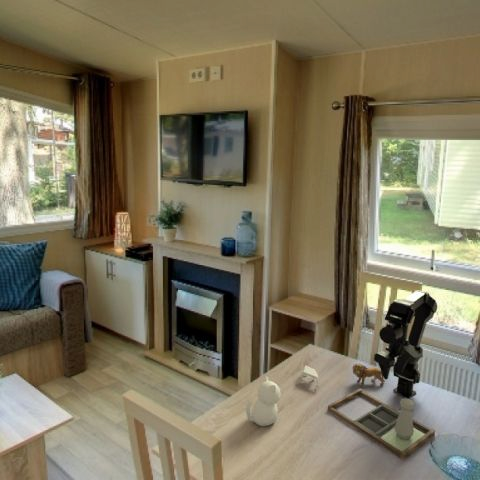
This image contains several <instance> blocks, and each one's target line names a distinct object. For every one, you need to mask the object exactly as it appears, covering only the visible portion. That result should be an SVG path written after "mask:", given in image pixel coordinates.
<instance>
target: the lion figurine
mask: <svg viewBox="0 0 480 480" xmlns="http://www.w3.org/2000/svg"><path fill="white" fill-rule="evenodd" d="M352 374H354V375H355V376H356V377H357V378H358V379H357V380H356V381H357V382H358V383H359V382H361V383H360V386H364V384H365V381H366V378H371V377H374V378H372V379H371V382H375V381H377V380H378V381H380V383H379V384H380V386H384V385H385V382H386V379H384V377H383V374H382V371H381V369H380V368H377V367H370V368H368V367H366V366H365V365H364V364H361V363H360V362H359V363H354V364H353V365H352Z"/></svg>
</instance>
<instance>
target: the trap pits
mask: <svg viewBox="0 0 480 480" xmlns="http://www.w3.org/2000/svg"><path fill="white" fill-rule="evenodd" d="M398 416H399V413H397V412H395V411H393V410H392V409H390V408H388V407H386V406H385V405H383V404H381V405H380V406H378V405H377V406H376V407H375V408H372V409H371V410H370V411H367V412H366V413H365V414H363V415H361V416H360V417H358V418H356V419H355V420H353V421H354V422H356V423H358V424H359V425H361V426H362V427H364V428H365V429H367V430H368V431H370V432H372V433H373V434H375V435H376V436H378V437H379V438H380V437H381V436H382V435H384V434H385V433H387V432H388V431H390V430H391V429H393V428H394V427H395V425H396V422H397V419H398Z"/></svg>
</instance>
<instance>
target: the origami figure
mask: <svg viewBox="0 0 480 480" xmlns="http://www.w3.org/2000/svg"><path fill="white" fill-rule="evenodd" d="M304 376H305V377H307V376H309V377H312V380H313V381H314V380H315V379H317V381H316V382H317V385H315V387H314V390H317V388H318V387H320V380H319V375H318V372H317V371H316V370H315V368H312V367H310V366H307V365H304V369H303V371H302V374H300V375H298V377H297V378H298V380H300V381H301V382H300V384H304V383H305V382H306V381H305V380H304V379H303V377H304Z"/></svg>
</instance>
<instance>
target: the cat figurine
mask: <svg viewBox="0 0 480 480" xmlns="http://www.w3.org/2000/svg"><path fill="white" fill-rule="evenodd" d="M281 395H282V392H281V389H280V387H279V385H278V384H277V383H276V382H274V381H271V380H269V378H268V376H266V375H265V376H264V379H263V381H262V382H261V383H260V384H259V386H258V389H257V398H258V399H256V401H255V402H254V403H253V405H252V400H251V399H249V400H248V401H247V403H246V407H245V411H246V412H245V413H246V418H247V419H248V420H249V421H250V422H251V423H255V424H256V425H258V426H260V427H267V426H269V425H271V424H274V423H276V422H277V420H278V416H279V413H278V412H279V411H278V409H279V408H278V405H277V403H278V402H279V401H280V398H281ZM251 406H252V407H251ZM251 408H252V409H251Z"/></svg>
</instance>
